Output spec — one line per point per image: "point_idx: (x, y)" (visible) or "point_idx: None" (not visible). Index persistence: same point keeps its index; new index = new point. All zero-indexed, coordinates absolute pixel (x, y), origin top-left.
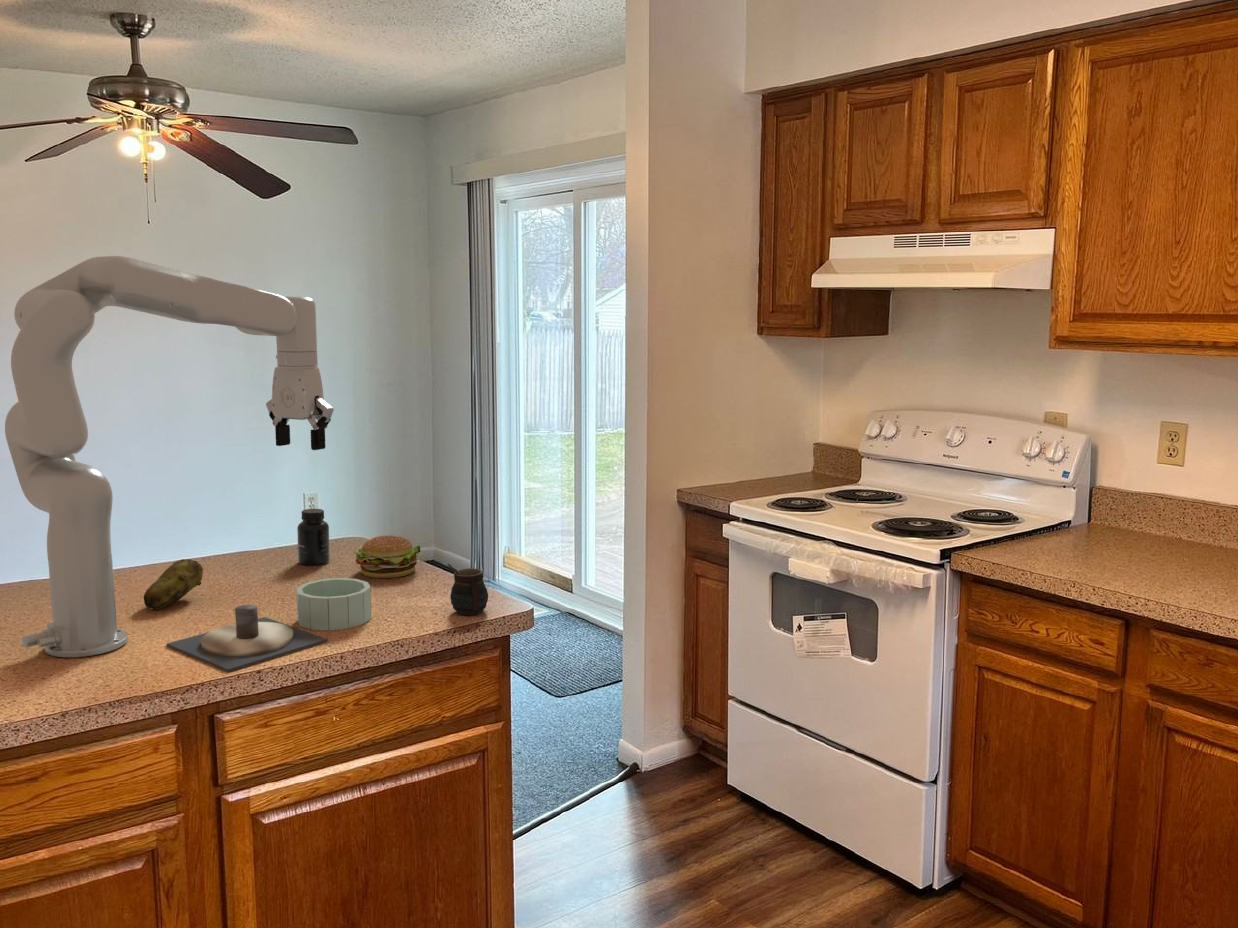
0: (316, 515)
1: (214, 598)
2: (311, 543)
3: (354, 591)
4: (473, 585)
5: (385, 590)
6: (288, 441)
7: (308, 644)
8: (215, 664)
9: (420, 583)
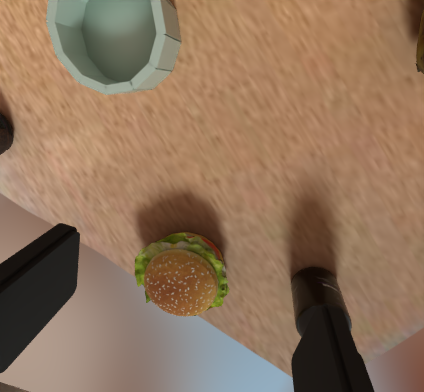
0: None
1: (376, 69)
2: (311, 288)
3: (111, 83)
4: None
5: (144, 185)
6: (296, 363)
7: None
8: None
9: (121, 224)
